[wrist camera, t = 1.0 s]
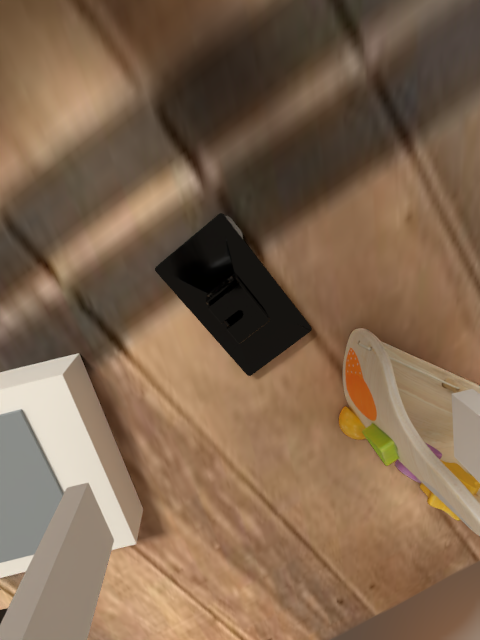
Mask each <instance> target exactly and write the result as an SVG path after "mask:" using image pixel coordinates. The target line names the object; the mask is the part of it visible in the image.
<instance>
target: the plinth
mask: <svg viewBox="0 0 480 640" xmlns="http://www.w3.org/2000/svg"><path fill="white" fill-rule="evenodd" d="M84 483H89V485H90V487H91V489H92V492H93V494H94V496H95V498H96V501H97V503H98V505H99V507H100V509H101V512H102V514H103V516H104V518H105V521H106V523H107V525H108V527H109V529H110V532H111V534H112V536H113V538H114V543H113V546H112V550H114V549H118V548H122V547H126V546H130V545H134V544H137V538H138V533H139V528H140V523H141V518H142V513H143V507H142V505H141V502H140V500H139V497H138V495H137V493H136V490H135V488H134V485H133V483H132V480H131V478H130V476H129V473H128V471H127V468H126V466H125V463H124V461H123V458H122V456H121V454H120V451H119V449H118V446H117V444H116V441H115V439H114V437H113V434H112V432H111V429H110V427H109V424H108V422H107V419H106V417H105V415H104V412H103V410H102V407H101V405H100V402H99V400H98V398H97V395H96V393H95V390H94V388H93V385H92V383H91V380H90V378H89V376H88V373H87V371H86V368H85V366H84V363H83V361H82V359H81V356H80V354H79V353H78V354H74V355H70V356H66V357H62V358H58V359H53V360H49V361H45V362H41V363H37V364H33V365H29V366H25V367H21V368H16V369H12V370H8V371H4V372H0V578H2V577H6V576H10V575H14V574H18V573H22V572H26V571H27V568H28V566H29V564H30V562H31V560H32V558H33V556H34V554H35V552H36V550H37V548H38V546H39V544H40V542H41V540H42V538H43V536H44V534H45V532H46V530H47V527H48V525H49V523H50V521H51V519H52V517H53V515H54V513H55V511H56V509H57V507H58V505H59V503H60V501H61V499H62V497H63V495H64V493H65V491H66V489H67V487H72V486H76V485H80V484H84Z"/></svg>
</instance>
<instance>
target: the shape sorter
mask: <svg viewBox="0 0 480 640" xmlns="http://www.w3.org/2000/svg"><path fill="white" fill-rule="evenodd" d="M343 388H344V394H345V397H346V400H347V403H348V405H349V407H346V406H345V407H344V408H343V409H342V411H341V413H340V416H339V426H340V428H341V430H342V431H343V433H344V434H345V435H347V436H349V437H350V438H353V439H358V440H361V439H367V440H368V441H369V443H370V444H371V446H372V447H373V449H374V450H375V451H376V453H377V454H378V456H379V457H380V459H381V460H382V461H383V463H384V464H385V465H386V466H388V465H390V464H391V463H393V462H394V461H396V462H395V466H396V468H397V469H398V470H400V471H401V472H402V473H403V474H405V475H406V476H408V477H409V478H411V479H413V480H414V481H417V482H419V483H421V485H420V488H421V490H422V491H423V492H424V493H425V494H426V495H427V496H428V500H427V502H428V504H429V505H430V506H432V507H435V508H438V509H441V510H443V511H445V512H446V513H447V514H449V515H450V516H451V517H453V518H454V519H455V520H457V521H460V520H462V521H463V522H464V523H465V524H466V525H467V526H468V527H469V528H470V529H471V530H472V531H473V532H474V533H475V534H477V535H479V536H480V483H479V482H478V481H477V480H476V479H475V478H474V477H473V476H472V475H471V474H470V473H469V472H468V470H467V469H466V468H465V467H464V466H463V465H462V464H461V463H460V462H459V461H458V460H457V459H456V458H455V457H454V440H453V416H452V394H453V393H457V392H461V391H465V390H469V389H474V390H475V391H477V392H478V393H479V394H480V385H478V384H476V383H473V382H471V381H469V380H467V379H464V378H462V377H460V376H458V375H455V374H453V373H451V372H449V371H447V370H444V369H442V368H440V367H438V366H435V365H433V364H431V363H429V362H427V361H424V360H422V359H420V358H417V357H415V356H413V355H411V354H409V353H406V352H404V351H402V350H400V349H397V348H395V347H393V346H391V345H389V344H386V343H384V342H382V341H380V340H379V339H378V338H377V337H376V336H375V335H374V334H373V333H372V332H370V331H369V330H367V329H364V328H358V329H355V330H354V331H352V333H351V334H350V337H349V339H348V342H347V346H346V350H345V355H344V361H343Z"/></svg>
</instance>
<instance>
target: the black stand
mask: <svg viewBox="0 0 480 640" xmlns="http://www.w3.org/2000/svg"><path fill="white" fill-rule="evenodd" d="M155 271H156V272H157V273H158V274H159V275H160V277H161V278H162V279H163V280H164V281H165V282H166V283H167V285H168V286H169V287H170V288H171V289H172V290H173V291H174V292H175V294H176V295H177V296H178V297H179V298H180V299H181V300H182V302H183V303H184V304H185V305H186V306H187V307H188V308H189V309H190V311H191V312H192V313H193V314H194V315H195V316H196V317H197V319H198V320H199V321H200V322H201V323H202V324H203V325H204V326H205V328H206V329H207V330H208V331H209V332H210V333H211V334H212V336H213V337H214V338H215V339H216V340H217V341H218V342H219V343H220V345H221V346H222V347H223V348H224V349H225V350H226V351H227V353H228V354H229V355H230V356H231V357H232V358H233V359H234V360H235V362H236V363H237V364H238V365H239V366H240V367H241V368H242V370H243V371H244V372H245V373H246V374H247V375H248V376H251V375H252V374H254V373H255V372H256V371H258V370H259V369H260V368H262V367H263V366H264V365H266V364H267V363H268V362H270V361H271V360H272V359H274V358H275V357H276V356H278V355H279V354H280V353H282V352H283V351H285V350H286V349H287V348H289V347H290V346H291V345H293V344H294V343H295V342H297V341H298V340H299V339H301V338H302V337H303V336H305V335H306V334H307V333H309V332H310V331H311V330H312V328H311V326H310V325H309V324H308V322H307V321H306V320H305V318H304V317H303V316H302V315H301V313H300V312H299V311H298V309H297V308H296V307H295V306H294V304H293V303H292V302H291V300H290V299H289V298H288V297H287V295H286V294H285V293H284V291H283V290H282V289H281V288H280V286H279V285H278V284H277V282H276V281H275V280H274V279H273V277H272V276H271V275H270V273H269V272H268V271H267V270H266V268H265V267H264V266H263V264H262V263H261V262H260V261H259V259H258V258H257V257H256V255H255V254H254V253H253V252H252V250H251V249H250V248H249V246H248V245H247V244H246V243H245V241H244V240H243V235H242V232H241V231H240V229H239V228H238V227H237V225H236V224H235V223H234V222H233V220H232V219H231V218H230V217H228V216H226V215H224V214H222V213H221V214H219V215H218V216H216V217H215V218H214V219H213V220H212V221H210V222H209V223H208V224H207V225H206V226H204V227H203V228H202V229H201V230H200V231H198V232H197V233H196V234H195V235H194V236H192V237H191V238H190V239H189V240H188V241H186V242H185V243H184V244H183V245H182V246H180V247H179V248H178V249H177V250H176V251H175V252H173V253H172V254H171V255H170V256H169V257H167V258H166V259H165V260H164V261H163V262H161V263H160V264H159V265H158V266H157V267H156V268H155Z"/></svg>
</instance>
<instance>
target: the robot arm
mask: <svg viewBox="0 0 480 640" xmlns="http://www.w3.org/2000/svg"><path fill="white" fill-rule="evenodd" d="M452 416H453V440H454V457H455V458H456V459H457V460H458V461H459V462H460V463H461V464H462V465H463V466H464V467H465V468H466V469H467V470H468V472H469V473H470V474H471V475H472V476H473V477H474V478H475V479H476V480H477V481H478V482H479V483H480V394H479V393H478V392H477V391H475V390H474V389H469V390H465V391H461V392H457V393H453V394H452ZM113 543H114V538H113V536H112V534H111V532H110V529H109V527H108V525H107V523H106V521H105V518H104V516H103V514H102V512H101V509H100V507H99V505H98V503H97V501H96V498H95V496H94V494H93V492H92V489H91V487H90V485H89V483H84V484H80V485H76V486H72V487H67V489H66V491H65V493H64V495H63V497H62V499H61V501H60V503H59V505H58V507H57V509H56V511H55V513H54V515H53V517H52V519H51V521H50V523H49V525H48V527H47V530H46V532H45V534H44V536H43V538H42V540H41V542H40V544H39V546H38V548H37V550H36V552H35V554H34V556H33V558H32V560H31V562H30V564H29V566H28V568H27V571H26V573H25V575H24V577H23V579H22V581H21V583H20V585H19V587H18V589H17V591H16V593H15V595H14V597H13V599H12V601H11V603H10V605H9V607H8V608H7V609H3V610H0V640H87V638H88V634H89V630H90V627H91V623H92V619H93V616H94V612H95V608H96V605H97V601H98V597H99V594H100V590H101V587H102V583H103V579H104V576H105V572H106V568H107V565H108V561H109V557H110V554H111V550H112V546H113Z"/></svg>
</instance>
